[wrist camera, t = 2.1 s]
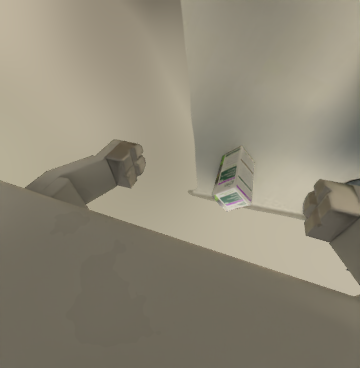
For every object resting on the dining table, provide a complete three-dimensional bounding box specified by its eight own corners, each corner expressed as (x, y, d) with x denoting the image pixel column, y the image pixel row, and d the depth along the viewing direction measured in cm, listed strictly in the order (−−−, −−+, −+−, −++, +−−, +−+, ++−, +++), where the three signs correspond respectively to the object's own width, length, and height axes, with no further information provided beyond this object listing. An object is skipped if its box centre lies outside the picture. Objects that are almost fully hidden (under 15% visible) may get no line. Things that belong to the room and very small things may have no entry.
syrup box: (242, 144, 43) (233, 186, 33) (255, 162, 45) (251, 206, 35) (222, 155, 47) (209, 195, 37) (235, 171, 49) (227, 213, 39)
